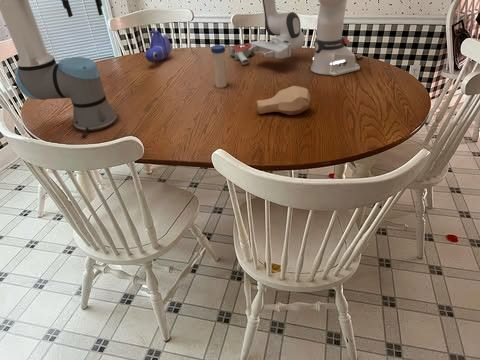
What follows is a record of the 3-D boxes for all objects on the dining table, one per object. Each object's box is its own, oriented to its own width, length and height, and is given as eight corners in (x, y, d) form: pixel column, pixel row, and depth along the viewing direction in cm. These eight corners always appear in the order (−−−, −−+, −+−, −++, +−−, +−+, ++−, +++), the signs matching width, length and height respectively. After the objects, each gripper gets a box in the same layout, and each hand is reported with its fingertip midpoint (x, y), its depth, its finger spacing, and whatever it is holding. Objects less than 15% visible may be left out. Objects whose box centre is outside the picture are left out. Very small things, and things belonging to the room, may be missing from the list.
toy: (159, 62, 200) (139, 68, 178) (155, 30, 193) (133, 32, 171) (176, 61, 198) (157, 67, 176) (172, 29, 191) (151, 31, 169)
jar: (213, 86, 156) (209, 49, 147) (219, 83, 159) (216, 45, 150) (222, 88, 154) (219, 50, 144) (228, 84, 157) (226, 47, 148)
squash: (314, 116, 128) (313, 95, 122) (259, 125, 130) (256, 105, 124) (308, 99, 136) (307, 78, 129) (257, 108, 138) (253, 88, 131)
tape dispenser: (245, 69, 176) (265, 54, 189) (245, 58, 173) (265, 44, 185) (216, 62, 184) (237, 49, 196) (215, 52, 180) (236, 39, 193)
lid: (208, 52, 147) (208, 48, 146) (216, 48, 151) (216, 44, 150) (220, 54, 145) (219, 49, 144) (227, 50, 149) (227, 45, 148)
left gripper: (102, -44, 147) (116, 12, 160) (44, -40, 148) (61, 15, 160) (96, -42, 141) (111, 15, 153) (35, -38, 142) (54, 19, 154)
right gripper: (262, 35, 174) (241, 41, 167) (293, 43, 162) (272, 50, 155) (262, 48, 178) (241, 54, 171) (293, 57, 166) (272, 64, 158)
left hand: (85, 15), depth 157 cm, fingers open, 13 cm apart
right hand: (256, 52), depth 163 cm, fingers open, 8 cm apart
